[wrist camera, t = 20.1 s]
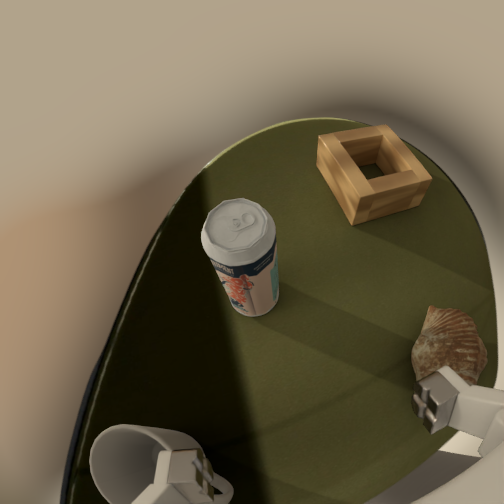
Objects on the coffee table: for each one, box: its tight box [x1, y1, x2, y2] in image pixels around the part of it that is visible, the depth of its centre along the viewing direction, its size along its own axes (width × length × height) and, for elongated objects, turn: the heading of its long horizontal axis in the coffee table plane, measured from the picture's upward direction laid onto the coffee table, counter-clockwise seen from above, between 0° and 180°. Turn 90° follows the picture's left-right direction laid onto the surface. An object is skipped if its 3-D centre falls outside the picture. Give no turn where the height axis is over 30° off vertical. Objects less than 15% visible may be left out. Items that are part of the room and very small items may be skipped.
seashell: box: [411, 305, 487, 386], centre depth 20 cm, size 9×7×8 cm
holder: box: [317, 125, 432, 226], centre depth 31 cm, size 10×10×5 cm
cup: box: [89, 424, 233, 504], centre depth 17 cm, size 8×10×8 cm
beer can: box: [201, 198, 279, 316], centre depth 23 cm, size 5×5×12 cm
